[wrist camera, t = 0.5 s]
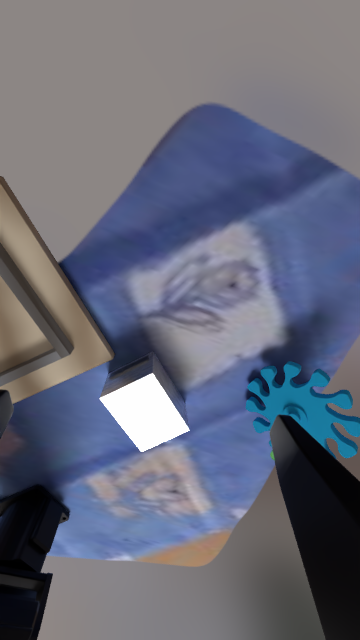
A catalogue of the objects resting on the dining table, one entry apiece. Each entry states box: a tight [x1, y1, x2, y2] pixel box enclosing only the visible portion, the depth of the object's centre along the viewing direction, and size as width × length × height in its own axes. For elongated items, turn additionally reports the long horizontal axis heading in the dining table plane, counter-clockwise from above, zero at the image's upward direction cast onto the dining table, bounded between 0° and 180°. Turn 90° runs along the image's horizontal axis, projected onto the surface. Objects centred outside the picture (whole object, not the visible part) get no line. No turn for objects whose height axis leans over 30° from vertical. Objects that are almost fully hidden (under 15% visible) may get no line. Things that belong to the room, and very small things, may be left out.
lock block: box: [100, 351, 189, 452], centre depth 23 cm, size 5×7×4 cm
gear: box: [246, 361, 360, 460], centre depth 25 cm, size 11×6×10 cm
